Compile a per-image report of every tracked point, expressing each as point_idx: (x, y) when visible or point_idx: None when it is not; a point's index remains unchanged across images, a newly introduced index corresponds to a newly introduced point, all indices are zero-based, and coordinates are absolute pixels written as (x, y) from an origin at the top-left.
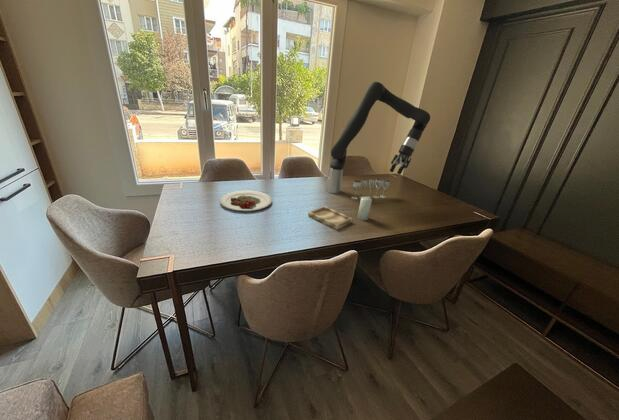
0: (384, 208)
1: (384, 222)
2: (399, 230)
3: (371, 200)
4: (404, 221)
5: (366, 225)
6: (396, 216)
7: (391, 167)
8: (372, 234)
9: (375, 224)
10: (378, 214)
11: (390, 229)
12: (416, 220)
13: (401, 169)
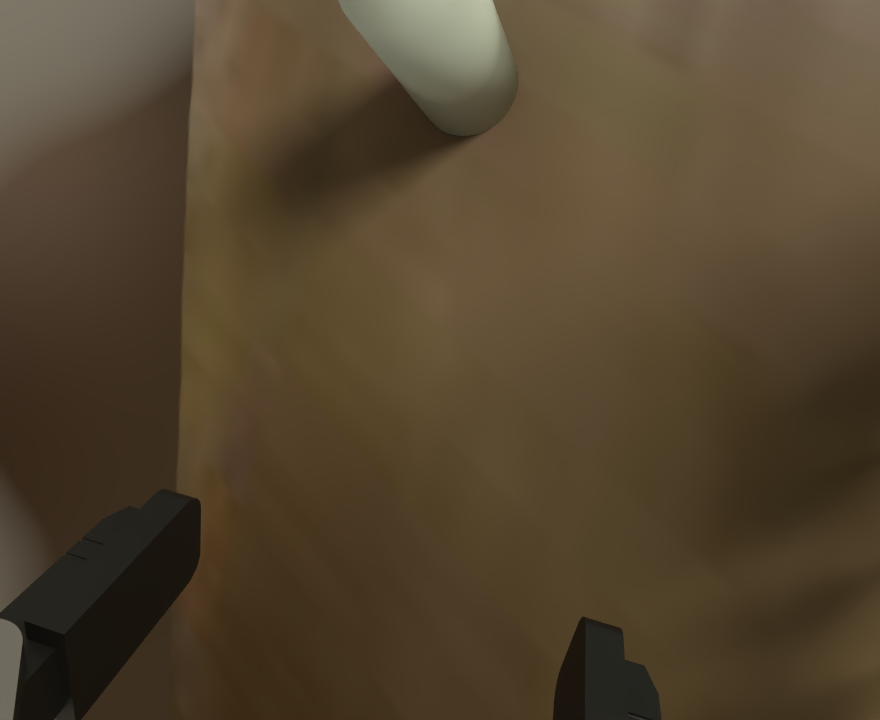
0: (589, 468)
1: (337, 243)
2: (203, 277)
3: (345, 13)
4: (301, 443)
5: (340, 44)
6: (397, 448)
7: (596, 716)
8: (217, 17)
9: (331, 136)
10: (484, 295)
11: (234, 213)
12: (285, 572)
13: (39, 599)
